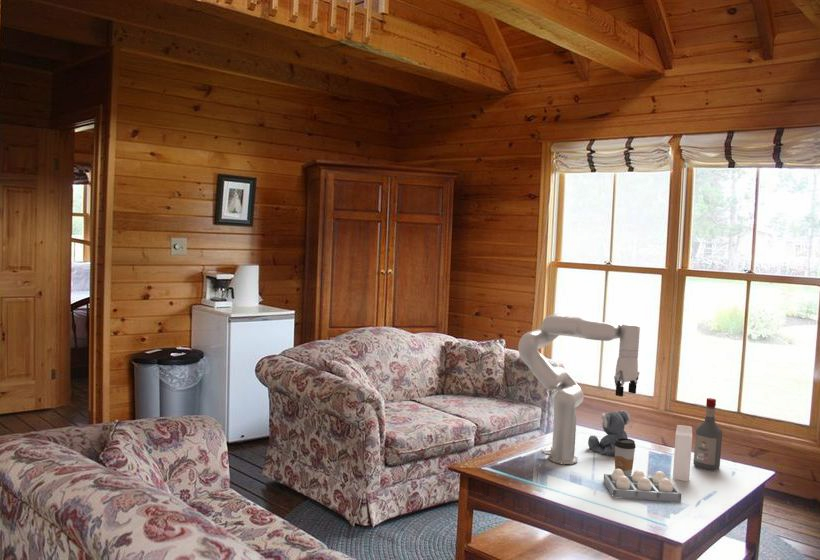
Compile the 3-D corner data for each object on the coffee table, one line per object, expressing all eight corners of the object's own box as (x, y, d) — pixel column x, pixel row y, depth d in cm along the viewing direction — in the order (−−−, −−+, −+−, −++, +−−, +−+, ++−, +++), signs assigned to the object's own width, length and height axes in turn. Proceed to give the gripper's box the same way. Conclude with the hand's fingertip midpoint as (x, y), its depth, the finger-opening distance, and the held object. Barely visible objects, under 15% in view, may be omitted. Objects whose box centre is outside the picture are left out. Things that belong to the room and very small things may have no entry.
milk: (672, 474, 290) (676, 422, 288) (688, 477, 288) (691, 424, 286) (673, 479, 284) (676, 426, 282) (689, 481, 282) (692, 428, 281)
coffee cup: (608, 475, 285) (611, 440, 284) (618, 471, 291) (620, 436, 290) (627, 481, 279) (630, 445, 278) (637, 476, 285) (639, 440, 284)
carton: (613, 497, 261) (614, 479, 261) (603, 481, 278) (604, 464, 278) (681, 501, 260) (682, 483, 259) (667, 485, 277) (668, 468, 276)
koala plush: (614, 445, 328) (617, 404, 326) (641, 457, 311) (644, 414, 310) (584, 448, 321) (587, 407, 319) (610, 461, 304) (613, 417, 303)
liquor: (712, 472, 294) (717, 402, 292) (691, 466, 301) (696, 398, 299) (721, 468, 301) (726, 400, 298) (700, 462, 307) (705, 395, 305)
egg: (655, 493, 265) (656, 477, 264) (662, 490, 268) (663, 475, 268) (668, 497, 261) (669, 482, 261) (675, 494, 264) (676, 479, 264)
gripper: (631, 350, 294) (628, 390, 295) (608, 353, 283) (606, 395, 284) (647, 353, 288) (644, 393, 290) (625, 356, 277) (622, 399, 278)
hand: (625, 394), depth 287 cm, fingers open, 9 cm apart
